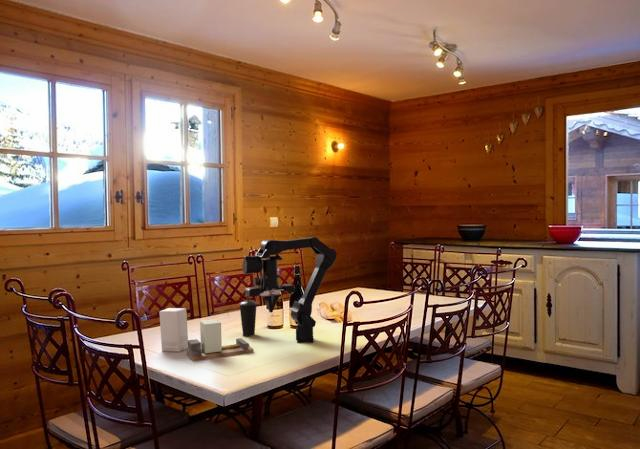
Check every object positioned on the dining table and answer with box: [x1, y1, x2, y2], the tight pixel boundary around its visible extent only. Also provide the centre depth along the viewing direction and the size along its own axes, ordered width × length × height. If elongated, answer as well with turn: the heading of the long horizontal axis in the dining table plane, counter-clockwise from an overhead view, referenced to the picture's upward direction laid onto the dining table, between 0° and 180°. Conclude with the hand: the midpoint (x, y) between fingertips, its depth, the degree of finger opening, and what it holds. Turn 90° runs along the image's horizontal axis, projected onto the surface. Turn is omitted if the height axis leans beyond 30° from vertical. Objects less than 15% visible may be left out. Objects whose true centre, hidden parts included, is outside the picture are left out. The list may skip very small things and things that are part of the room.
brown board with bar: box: [186, 337, 254, 362], centre depth 193 cm, size 22×10×6 cm, turn 116°
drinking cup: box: [238, 295, 258, 337], centre depth 219 cm, size 8×8×20 cm
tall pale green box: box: [199, 318, 223, 353], centre depth 191 cm, size 6×7×10 cm
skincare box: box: [158, 307, 189, 353], centre depth 199 cm, size 8×7×16 cm
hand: (270, 312), depth 201 cm, fingers closed
